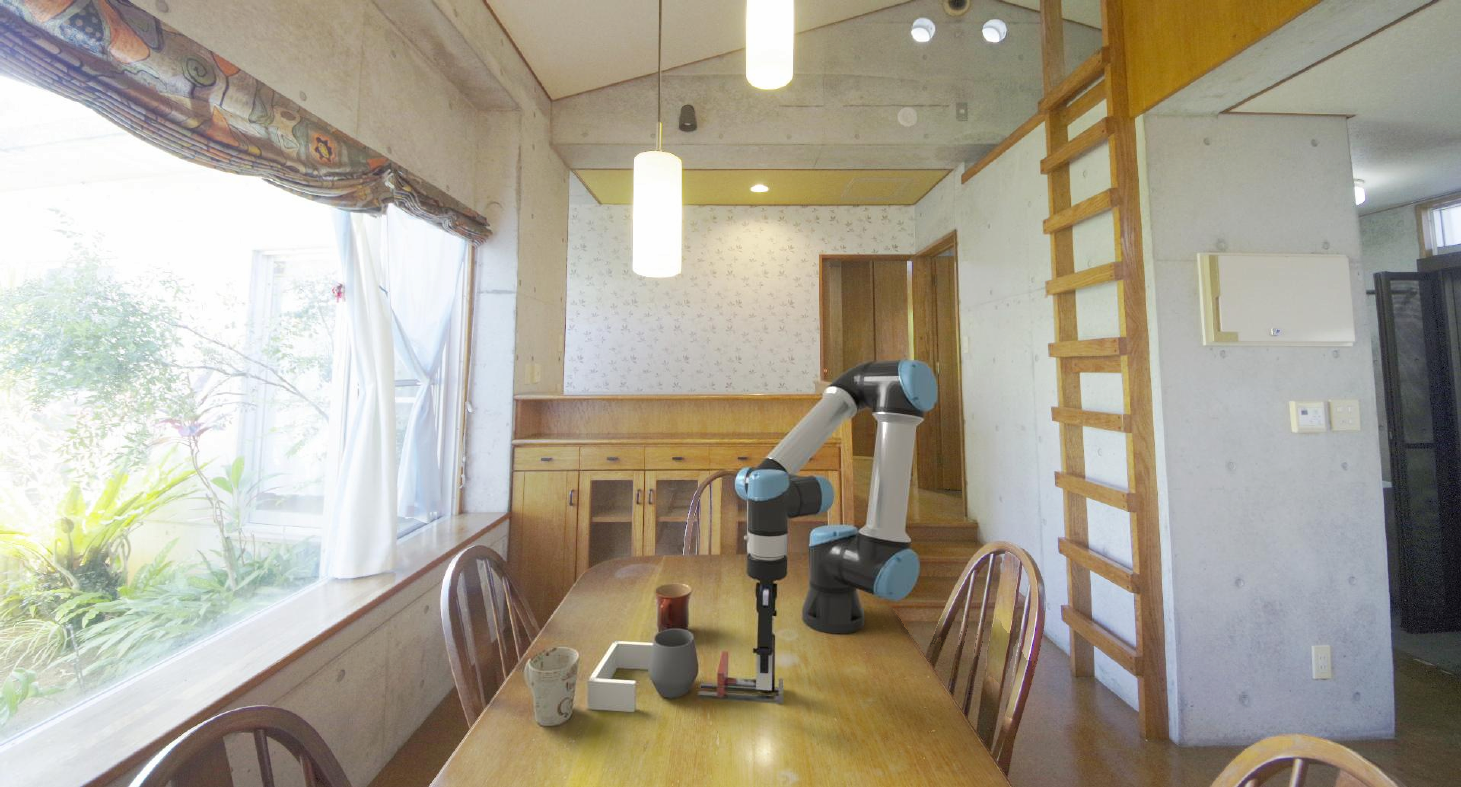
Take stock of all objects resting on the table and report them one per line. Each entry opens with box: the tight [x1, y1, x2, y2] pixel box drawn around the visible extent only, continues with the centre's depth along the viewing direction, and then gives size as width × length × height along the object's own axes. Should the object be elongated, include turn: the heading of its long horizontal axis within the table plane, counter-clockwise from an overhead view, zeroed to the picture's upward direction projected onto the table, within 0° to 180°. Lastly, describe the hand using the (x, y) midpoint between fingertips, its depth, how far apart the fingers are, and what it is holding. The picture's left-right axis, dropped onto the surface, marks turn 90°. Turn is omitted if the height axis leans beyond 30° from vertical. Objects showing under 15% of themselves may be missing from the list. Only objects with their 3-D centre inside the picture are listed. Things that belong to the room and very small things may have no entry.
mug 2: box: [653, 582, 693, 633], centre depth 121 cm, size 12×9×10 cm
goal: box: [587, 640, 653, 713], centre depth 101 cm, size 8×15×5 cm, turn 174°
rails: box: [697, 678, 784, 706], centre depth 99 cm, size 16×5×2 cm, turn 85°
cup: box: [648, 629, 699, 699], centre depth 100 cm, size 10×9×10 cm
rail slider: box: [716, 632, 776, 698], centre depth 98 cm, size 10×8×10 cm
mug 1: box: [524, 646, 580, 727], centre depth 93 cm, size 8×13×10 cm, turn 58°
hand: (765, 668), depth 98 cm, fingers open, 13 cm apart
